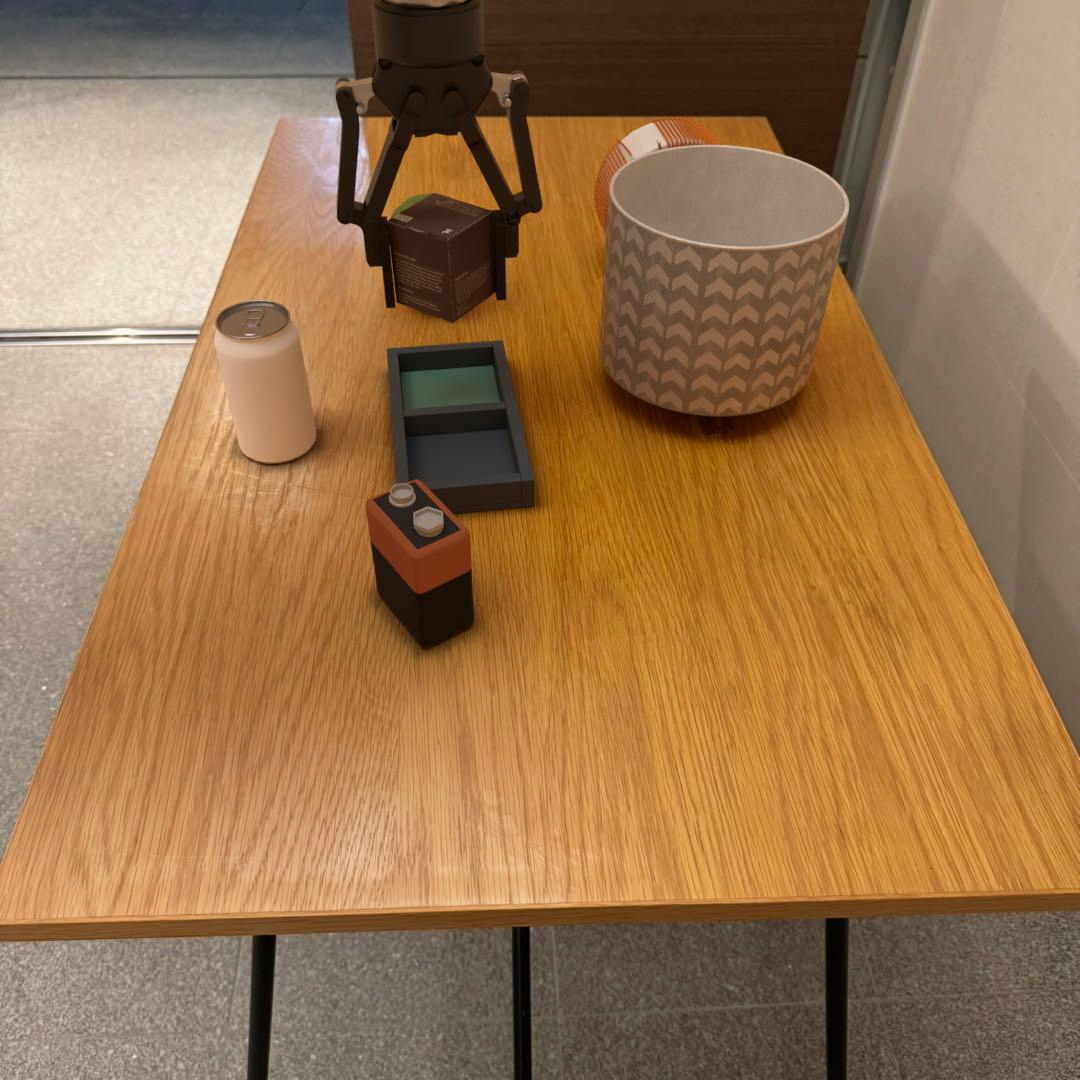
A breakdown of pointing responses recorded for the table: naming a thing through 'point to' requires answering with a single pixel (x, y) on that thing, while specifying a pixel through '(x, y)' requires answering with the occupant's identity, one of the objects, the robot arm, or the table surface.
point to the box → (442, 256)
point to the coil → (646, 151)
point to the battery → (421, 561)
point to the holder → (459, 425)
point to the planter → (717, 276)
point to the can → (265, 381)
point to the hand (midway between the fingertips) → (445, 295)
